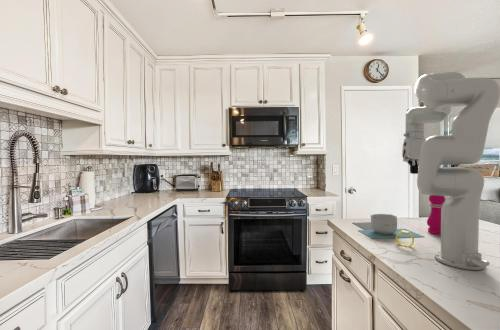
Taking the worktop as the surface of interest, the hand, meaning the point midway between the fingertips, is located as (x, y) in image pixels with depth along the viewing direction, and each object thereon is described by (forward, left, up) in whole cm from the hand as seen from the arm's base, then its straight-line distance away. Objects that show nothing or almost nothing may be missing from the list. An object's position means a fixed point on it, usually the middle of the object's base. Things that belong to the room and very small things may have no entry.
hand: (414, 173), depth 120 cm
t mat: (-1, +17, -27) cm, 32 cm away
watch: (-22, +21, -27) cm, 41 cm away
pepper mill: (-8, -5, -27) cm, 29 cm away
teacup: (-6, +18, -27) cm, 33 cm away
